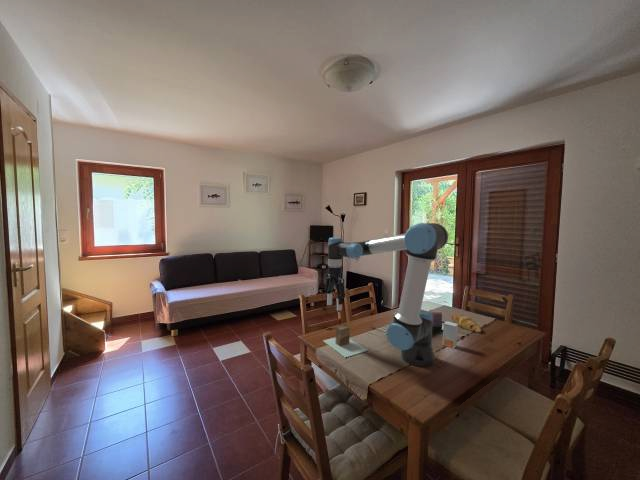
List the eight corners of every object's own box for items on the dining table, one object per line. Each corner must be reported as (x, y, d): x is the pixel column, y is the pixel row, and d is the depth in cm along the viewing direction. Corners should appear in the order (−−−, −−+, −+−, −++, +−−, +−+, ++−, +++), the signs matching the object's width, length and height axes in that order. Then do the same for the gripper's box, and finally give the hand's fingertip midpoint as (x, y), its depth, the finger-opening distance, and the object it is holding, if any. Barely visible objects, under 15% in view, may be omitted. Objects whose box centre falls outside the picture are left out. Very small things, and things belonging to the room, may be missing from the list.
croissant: (483, 338, 157) (489, 326, 158) (472, 333, 154) (478, 320, 154) (454, 324, 177) (459, 313, 178) (444, 319, 174) (449, 307, 174)
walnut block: (349, 343, 141) (349, 327, 140) (339, 346, 138) (340, 329, 137) (344, 340, 144) (345, 324, 143) (335, 343, 141) (335, 326, 140)
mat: (367, 350, 134) (367, 350, 134) (345, 358, 127) (345, 357, 127) (344, 335, 151) (344, 334, 151) (322, 341, 144) (322, 340, 144)
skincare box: (442, 345, 141) (443, 323, 140) (444, 342, 144) (446, 320, 143) (454, 349, 137) (455, 326, 136) (457, 346, 140) (458, 323, 139)
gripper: (352, 269, 137) (351, 312, 139) (329, 262, 155) (329, 301, 157) (340, 270, 133) (340, 314, 135) (318, 263, 151) (318, 302, 153)
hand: (334, 307), depth 146 cm, fingers open, 9 cm apart
